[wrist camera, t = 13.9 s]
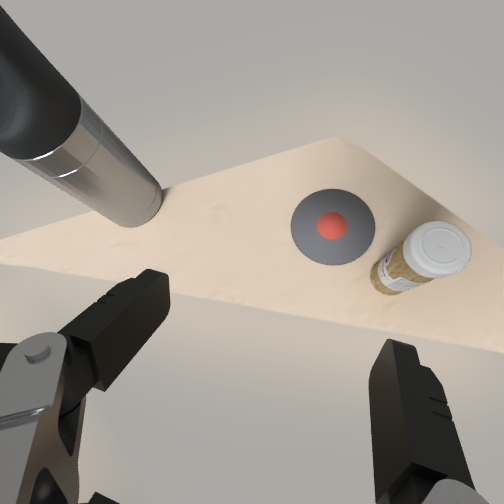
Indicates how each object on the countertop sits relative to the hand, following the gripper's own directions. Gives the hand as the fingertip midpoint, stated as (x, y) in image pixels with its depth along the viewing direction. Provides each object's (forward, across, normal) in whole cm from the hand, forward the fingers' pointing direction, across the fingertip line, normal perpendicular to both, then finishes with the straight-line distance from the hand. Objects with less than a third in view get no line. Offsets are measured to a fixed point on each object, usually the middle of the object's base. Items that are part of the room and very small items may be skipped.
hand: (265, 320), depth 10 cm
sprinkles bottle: (+25, -11, +12) cm, 30 cm away
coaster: (+29, -3, +8) cm, 30 cm away
